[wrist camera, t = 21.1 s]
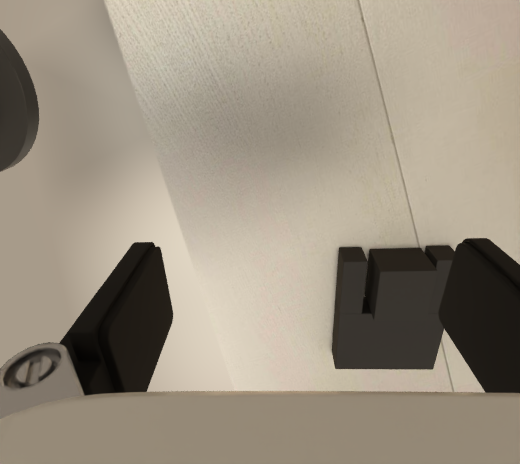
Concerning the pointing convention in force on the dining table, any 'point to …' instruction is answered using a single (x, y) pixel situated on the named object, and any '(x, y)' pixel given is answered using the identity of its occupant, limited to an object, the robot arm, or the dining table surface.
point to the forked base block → (384, 331)
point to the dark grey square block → (399, 284)
